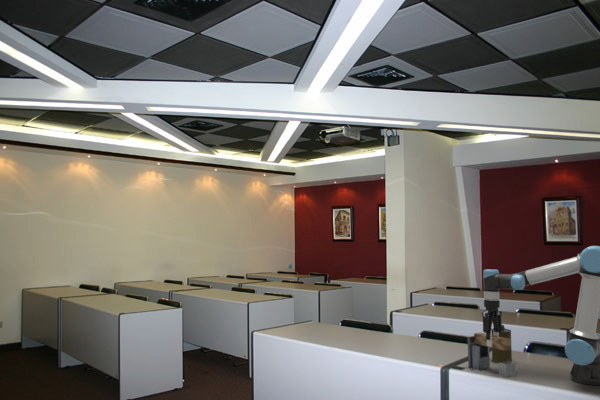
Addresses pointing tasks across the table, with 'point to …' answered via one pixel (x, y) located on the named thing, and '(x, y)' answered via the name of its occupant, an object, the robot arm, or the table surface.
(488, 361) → the bracket
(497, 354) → the canister
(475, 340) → the rail
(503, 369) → the block
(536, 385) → the table surface
